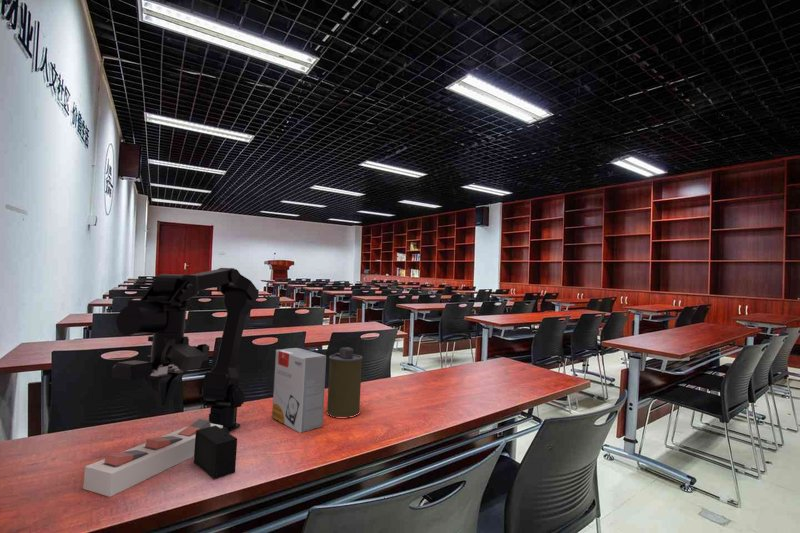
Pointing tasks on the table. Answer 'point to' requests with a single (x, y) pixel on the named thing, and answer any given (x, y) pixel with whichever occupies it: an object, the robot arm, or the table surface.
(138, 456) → the rocker
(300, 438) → the table surface
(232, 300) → the robot arm
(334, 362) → the canister
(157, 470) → the rocker switch panel
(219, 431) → the black cubic block
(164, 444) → the rocker
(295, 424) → the hard drive box
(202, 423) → the rocker
